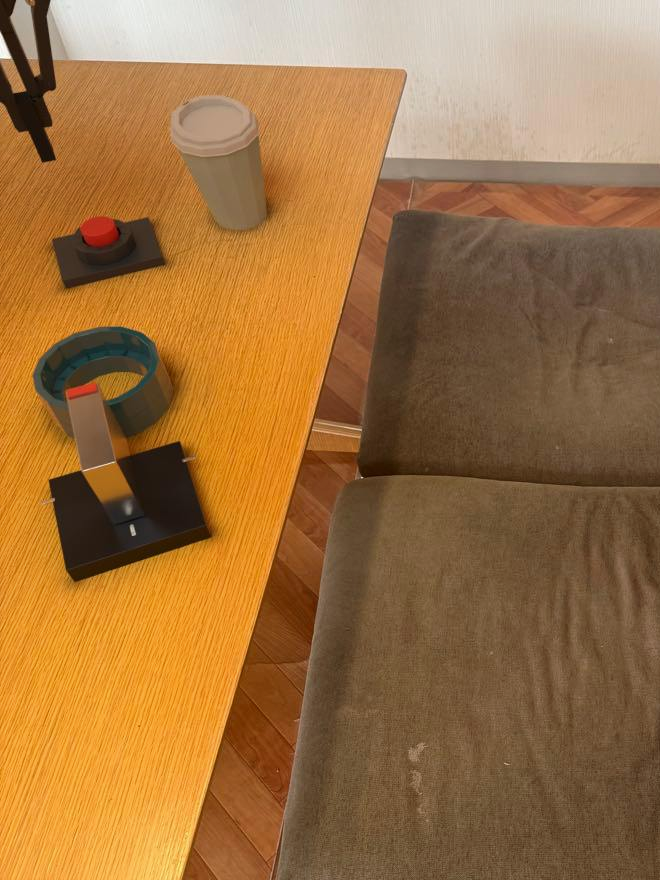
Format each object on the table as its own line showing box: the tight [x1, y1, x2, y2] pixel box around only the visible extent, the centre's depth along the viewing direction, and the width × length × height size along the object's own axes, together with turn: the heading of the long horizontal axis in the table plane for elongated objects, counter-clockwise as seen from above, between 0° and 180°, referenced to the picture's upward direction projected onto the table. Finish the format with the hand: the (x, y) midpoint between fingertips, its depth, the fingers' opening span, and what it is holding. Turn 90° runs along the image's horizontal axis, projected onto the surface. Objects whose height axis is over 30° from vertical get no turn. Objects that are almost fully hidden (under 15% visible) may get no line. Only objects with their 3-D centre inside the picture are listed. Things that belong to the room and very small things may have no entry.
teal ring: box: [32, 325, 174, 439], centre depth 97 cm, size 13×13×6 cm
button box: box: [51, 216, 166, 290], centre depth 112 cm, size 12×9×4 cm
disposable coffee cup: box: [169, 94, 268, 231], centre depth 113 cm, size 11×11×15 cm
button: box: [79, 215, 119, 247], centre depth 110 cm, size 4×4×2 cm
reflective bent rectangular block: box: [65, 381, 145, 525], centre depth 86 cm, size 11×3×8 cm, turn 24°
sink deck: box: [39, 440, 213, 583], centre depth 90 cm, size 15×17×3 cm
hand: (47, 155), depth 100 cm, fingers closed
